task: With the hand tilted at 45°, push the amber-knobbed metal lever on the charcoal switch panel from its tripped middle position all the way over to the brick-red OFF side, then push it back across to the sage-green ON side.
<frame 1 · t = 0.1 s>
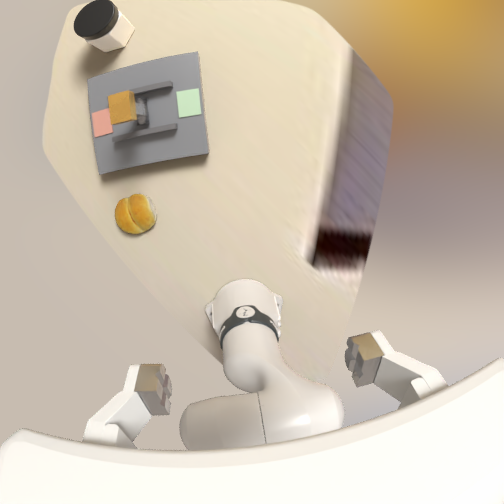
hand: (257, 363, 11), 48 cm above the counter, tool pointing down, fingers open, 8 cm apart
bread roll: (137, 211, 56), on the counter
switch panel: (148, 112, 47), on the counter
breaker lever: (133, 109, 38), point 11 cm above the counter, hinge at 0.0°
jar: (115, 34, 39), on the counter
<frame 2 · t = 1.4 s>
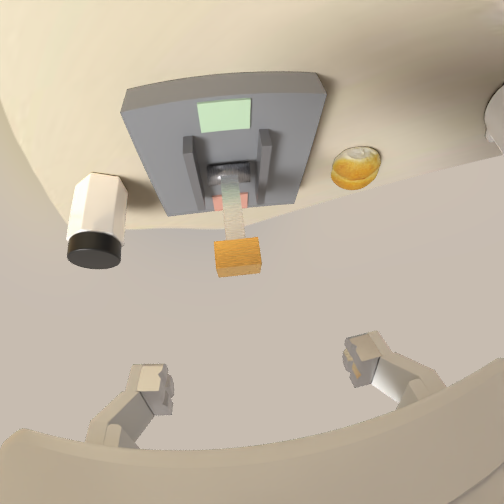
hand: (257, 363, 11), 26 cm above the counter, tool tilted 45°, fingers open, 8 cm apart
bread roll: (352, 160, 42), on the counter
switch panel: (225, 142, 35), on the counter
breaker lever: (232, 213, 31), point 11 cm above the counter, hinge at 0.0°
jar: (102, 187, 39), on the counter
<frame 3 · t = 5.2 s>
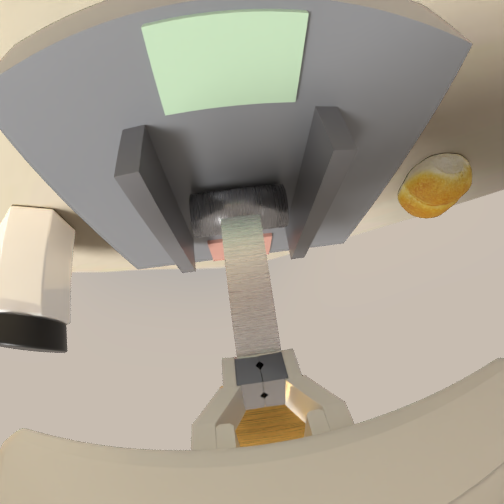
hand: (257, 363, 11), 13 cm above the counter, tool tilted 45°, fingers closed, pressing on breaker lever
bread roll: (430, 173, 24), on the counter
switch panel: (229, 140, 17), on the counter
breaker lever: (252, 310, 14), point 11 cm above the counter, hinge at -2.3°, touching gripper
jar: (36, 223, 22), on the counter
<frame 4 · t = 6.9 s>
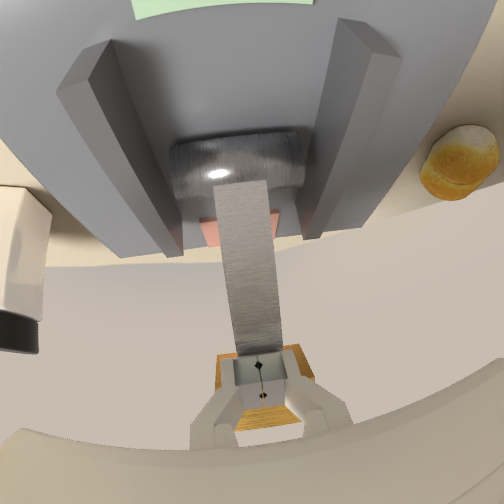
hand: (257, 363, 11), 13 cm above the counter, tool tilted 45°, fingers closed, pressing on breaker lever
bread roll: (453, 149, 19), on the counter
switch panel: (226, 90, 13), on the counter
breaker lever: (252, 293, 12), point 10 cm above the counter, hinge at -31.8°, touching gripper
jar: (11, 207, 18), on the counter
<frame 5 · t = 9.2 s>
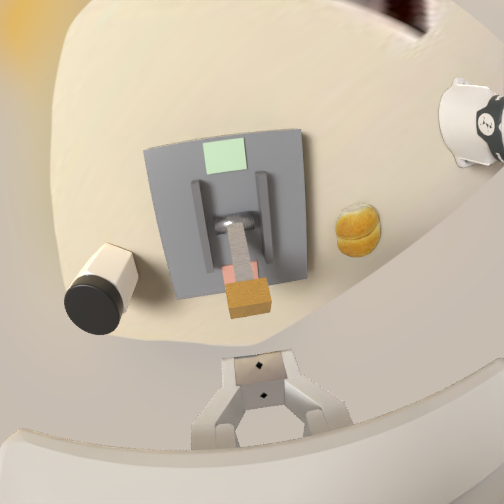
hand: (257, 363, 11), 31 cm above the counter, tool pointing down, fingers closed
bread roll: (354, 227, 45), on the counter
switch panel: (230, 210, 41), on the counter
breaker lever: (240, 258, 33), point 10 cm above the counter, hinge at -31.6°
jar: (114, 267, 42), on the counter
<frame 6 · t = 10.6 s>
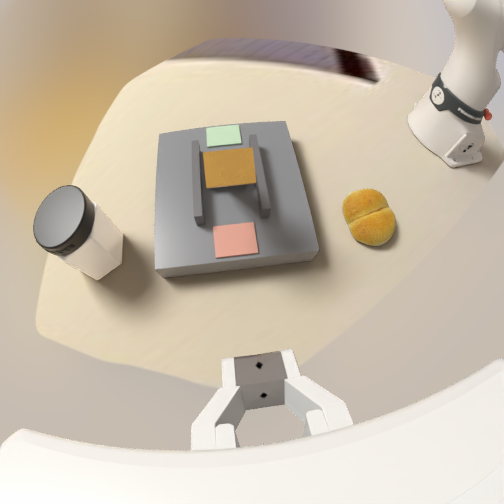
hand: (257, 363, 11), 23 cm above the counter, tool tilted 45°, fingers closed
bread roll: (365, 220, 41), on the counter
switch panel: (229, 196, 41), on the counter
breaker lever: (228, 172, 30), point 10 cm above the counter, hinge at -31.6°
jar: (100, 251, 37), on the counter
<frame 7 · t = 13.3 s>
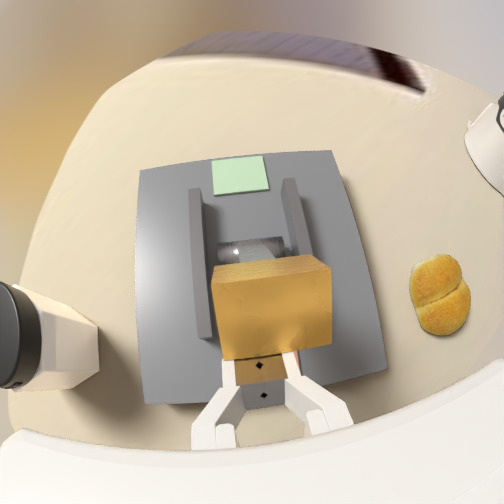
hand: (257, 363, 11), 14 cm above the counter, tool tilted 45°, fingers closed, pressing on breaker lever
bread roll: (433, 296, 27), on the counter
switch panel: (250, 273, 27), on the counter
breaker lever: (258, 272, 17), point 10 cm above the counter, hinge at -31.4°, touching gripper
jar: (71, 347, 24), on the counter
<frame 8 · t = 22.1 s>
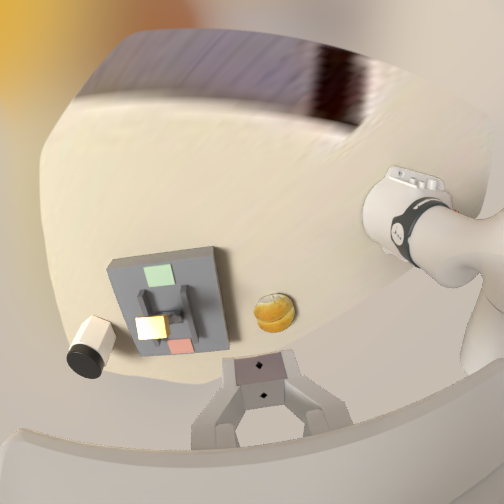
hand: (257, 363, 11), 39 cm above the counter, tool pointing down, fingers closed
bread roll: (273, 309, 59), on the counter
switch panel: (173, 301, 55), on the counter
breaker lever: (162, 321, 45), point 10 cm above the counter, hinge at 30.4°
jar: (99, 329, 57), on the counter
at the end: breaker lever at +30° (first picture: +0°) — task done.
